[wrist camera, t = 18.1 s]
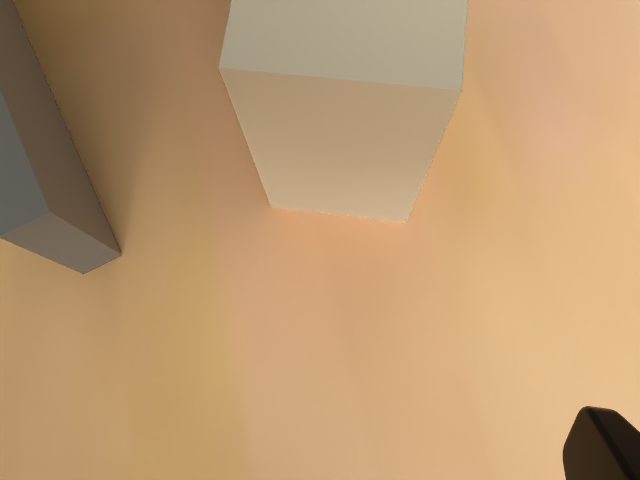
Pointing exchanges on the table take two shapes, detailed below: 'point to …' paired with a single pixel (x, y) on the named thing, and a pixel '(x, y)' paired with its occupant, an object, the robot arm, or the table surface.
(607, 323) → the table surface
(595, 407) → the robot arm
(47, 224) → the open-front crate
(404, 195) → the cream block
